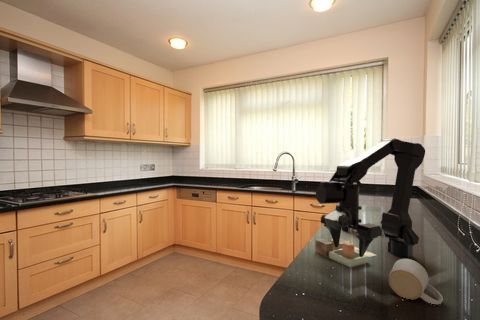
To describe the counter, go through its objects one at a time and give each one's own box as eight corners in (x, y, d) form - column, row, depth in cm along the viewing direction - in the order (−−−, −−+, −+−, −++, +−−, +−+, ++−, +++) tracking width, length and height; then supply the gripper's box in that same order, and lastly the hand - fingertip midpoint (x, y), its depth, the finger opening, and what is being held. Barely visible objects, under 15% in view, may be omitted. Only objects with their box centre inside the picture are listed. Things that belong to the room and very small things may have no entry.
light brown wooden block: (351, 250, 86) (351, 242, 86) (341, 253, 84) (341, 244, 84) (339, 246, 90) (339, 238, 90) (330, 248, 88) (330, 239, 88)
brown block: (333, 255, 82) (333, 243, 82) (326, 256, 80) (326, 244, 80) (321, 249, 86) (321, 238, 86) (315, 251, 85) (315, 239, 85)
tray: (368, 262, 76) (368, 256, 76) (350, 267, 72) (350, 260, 72) (346, 253, 83) (346, 247, 83) (329, 257, 79) (329, 251, 79)
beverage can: (343, 230, 115) (344, 205, 115) (358, 233, 111) (359, 207, 111) (339, 233, 110) (339, 207, 110) (355, 236, 106) (355, 209, 106)
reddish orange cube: (356, 259, 77) (356, 245, 77) (349, 261, 75) (349, 247, 75) (347, 255, 80) (347, 242, 80) (339, 257, 78) (339, 243, 78)
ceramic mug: (386, 294, 61) (387, 264, 61) (393, 282, 67) (394, 254, 67) (441, 313, 54) (443, 279, 53) (443, 298, 60) (444, 267, 60)
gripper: (308, 199, 82) (308, 245, 82) (357, 210, 66) (356, 268, 66) (332, 197, 87) (332, 241, 87) (383, 207, 71) (382, 260, 71)
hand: (348, 251), depth 78 cm, fingers open, 9 cm apart
